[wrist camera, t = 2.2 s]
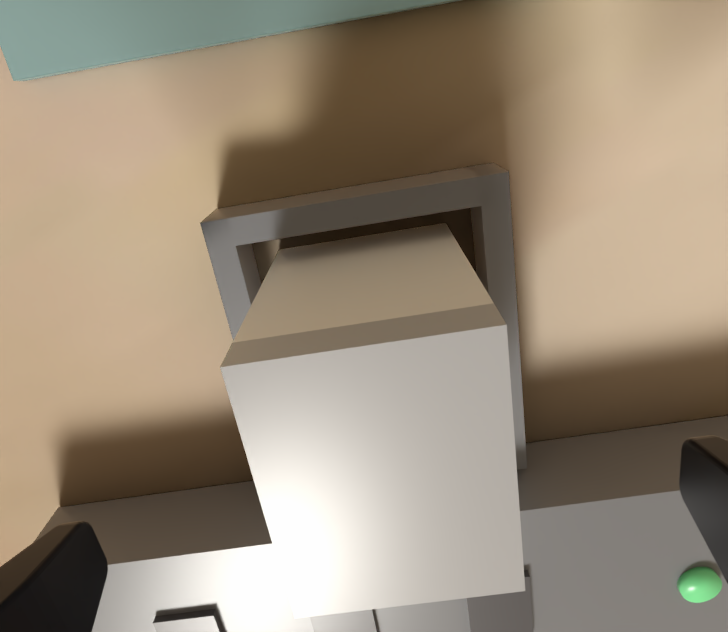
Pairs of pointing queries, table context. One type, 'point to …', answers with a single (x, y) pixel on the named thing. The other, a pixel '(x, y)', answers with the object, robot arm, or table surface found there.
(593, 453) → the grey angular piece
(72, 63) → the teal square plate
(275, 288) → the light grey rectangular block
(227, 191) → the table surface
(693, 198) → the table surface
